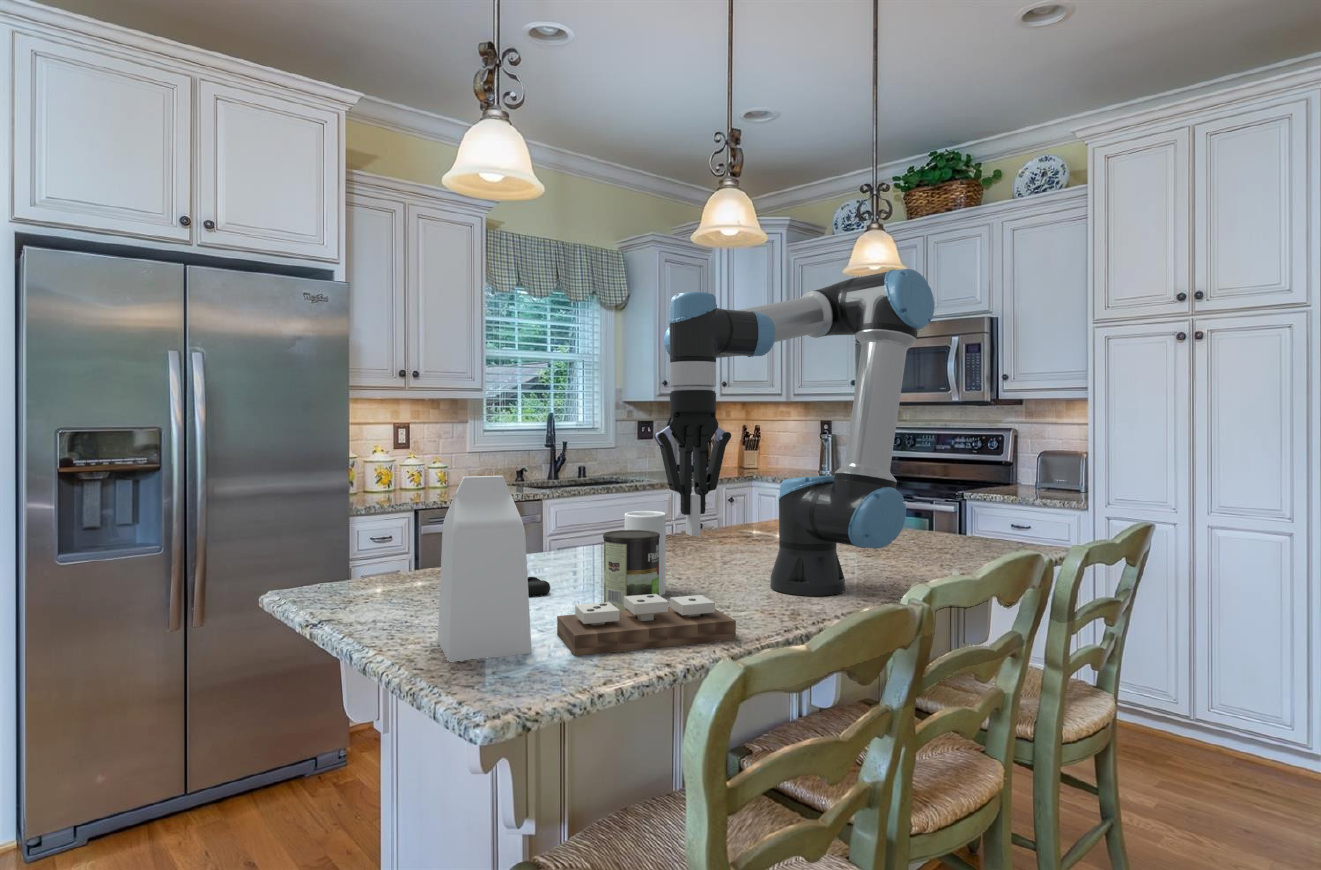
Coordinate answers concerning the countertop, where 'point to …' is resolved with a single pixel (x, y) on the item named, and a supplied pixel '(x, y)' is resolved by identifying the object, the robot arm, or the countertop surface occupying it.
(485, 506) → the milk
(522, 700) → the countertop surface
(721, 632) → the button panel
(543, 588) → the door handle
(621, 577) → the coffee can
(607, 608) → the button
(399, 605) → the countertop surface
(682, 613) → the button
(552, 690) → the countertop surface
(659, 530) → the cup
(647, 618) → the button
